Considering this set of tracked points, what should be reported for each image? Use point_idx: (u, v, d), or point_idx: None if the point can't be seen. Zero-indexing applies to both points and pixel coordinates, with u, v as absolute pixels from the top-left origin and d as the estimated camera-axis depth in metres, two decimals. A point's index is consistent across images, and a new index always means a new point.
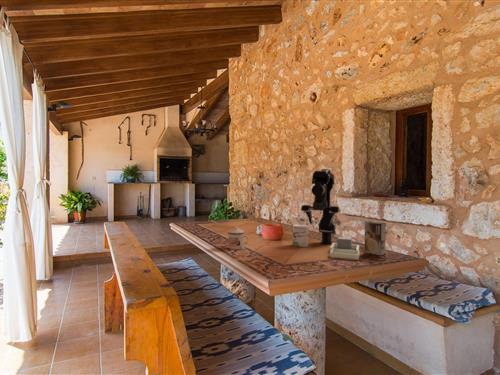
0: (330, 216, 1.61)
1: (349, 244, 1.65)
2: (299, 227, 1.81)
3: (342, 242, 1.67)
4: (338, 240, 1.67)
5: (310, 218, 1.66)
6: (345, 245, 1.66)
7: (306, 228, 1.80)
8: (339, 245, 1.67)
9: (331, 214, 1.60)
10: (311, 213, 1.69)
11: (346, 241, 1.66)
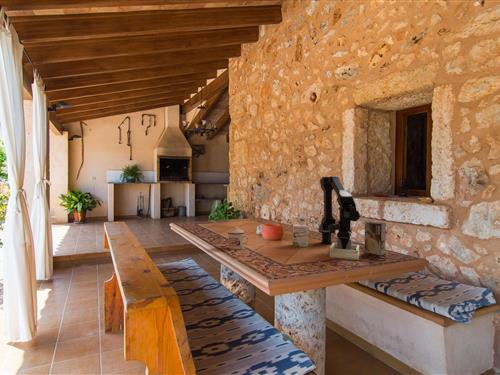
0: None
1: (349, 244, 1.65)
2: (299, 227, 1.81)
3: None
4: (338, 240, 1.67)
5: None
6: None
7: (306, 228, 1.80)
8: (339, 245, 1.67)
9: None
10: None
11: None
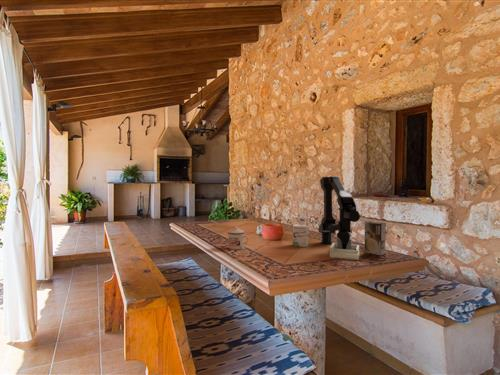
0: (341, 240, 1.66)
1: (349, 244, 1.65)
2: (299, 227, 1.81)
3: None
4: (338, 240, 1.67)
5: None
6: None
7: (306, 228, 1.80)
8: (339, 245, 1.67)
9: None
10: (349, 237, 1.71)
11: None
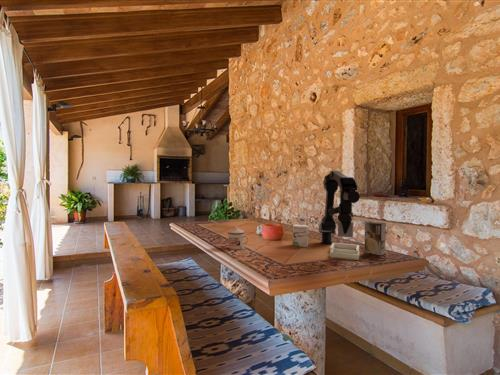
0: None
1: (350, 227, 1.56)
2: (299, 227, 1.81)
3: None
4: (339, 223, 1.57)
5: None
6: None
7: (306, 228, 1.80)
8: (340, 228, 1.57)
9: (340, 221, 1.56)
10: None
11: None
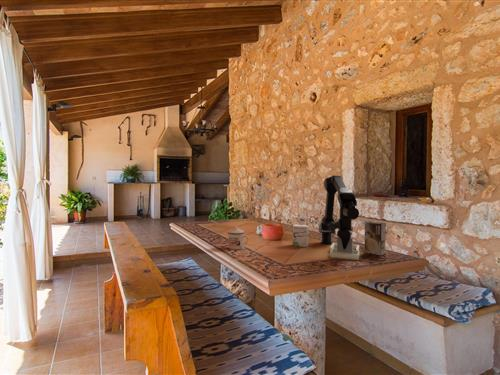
0: (341, 239, 1.56)
1: (350, 243, 1.56)
2: (299, 227, 1.81)
3: None
4: (338, 238, 1.58)
5: None
6: None
7: (306, 228, 1.80)
8: (339, 244, 1.58)
9: None
10: None
11: None
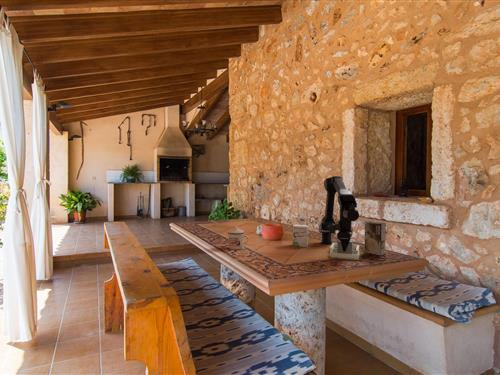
0: None
1: (350, 247, 1.56)
2: (299, 227, 1.81)
3: None
4: (338, 242, 1.58)
5: None
6: None
7: (306, 228, 1.80)
8: (339, 248, 1.58)
9: None
10: (350, 237, 1.63)
11: None
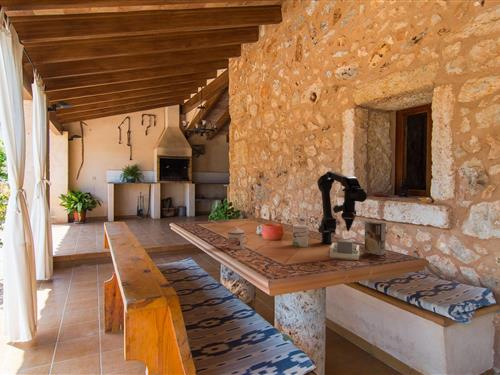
0: (345, 221, 1.66)
1: (350, 247, 1.56)
2: (299, 227, 1.81)
3: (342, 245, 1.57)
4: (338, 242, 1.58)
5: None
6: (346, 248, 1.56)
7: (306, 228, 1.80)
8: (339, 248, 1.58)
9: (343, 219, 1.66)
10: (354, 218, 1.74)
11: (346, 243, 1.56)
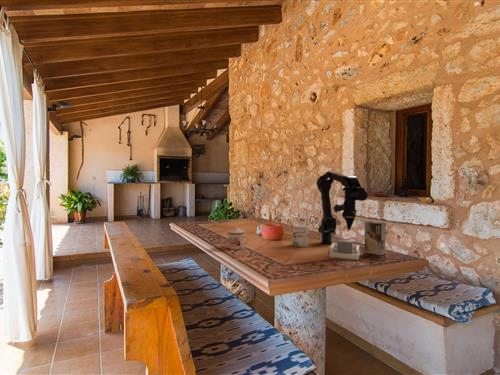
0: None
1: (350, 247, 1.56)
2: (299, 227, 1.81)
3: (342, 245, 1.57)
4: (338, 242, 1.58)
5: None
6: (346, 248, 1.56)
7: (306, 228, 1.80)
8: (339, 248, 1.58)
9: (344, 218, 1.66)
10: None
11: (346, 243, 1.56)
